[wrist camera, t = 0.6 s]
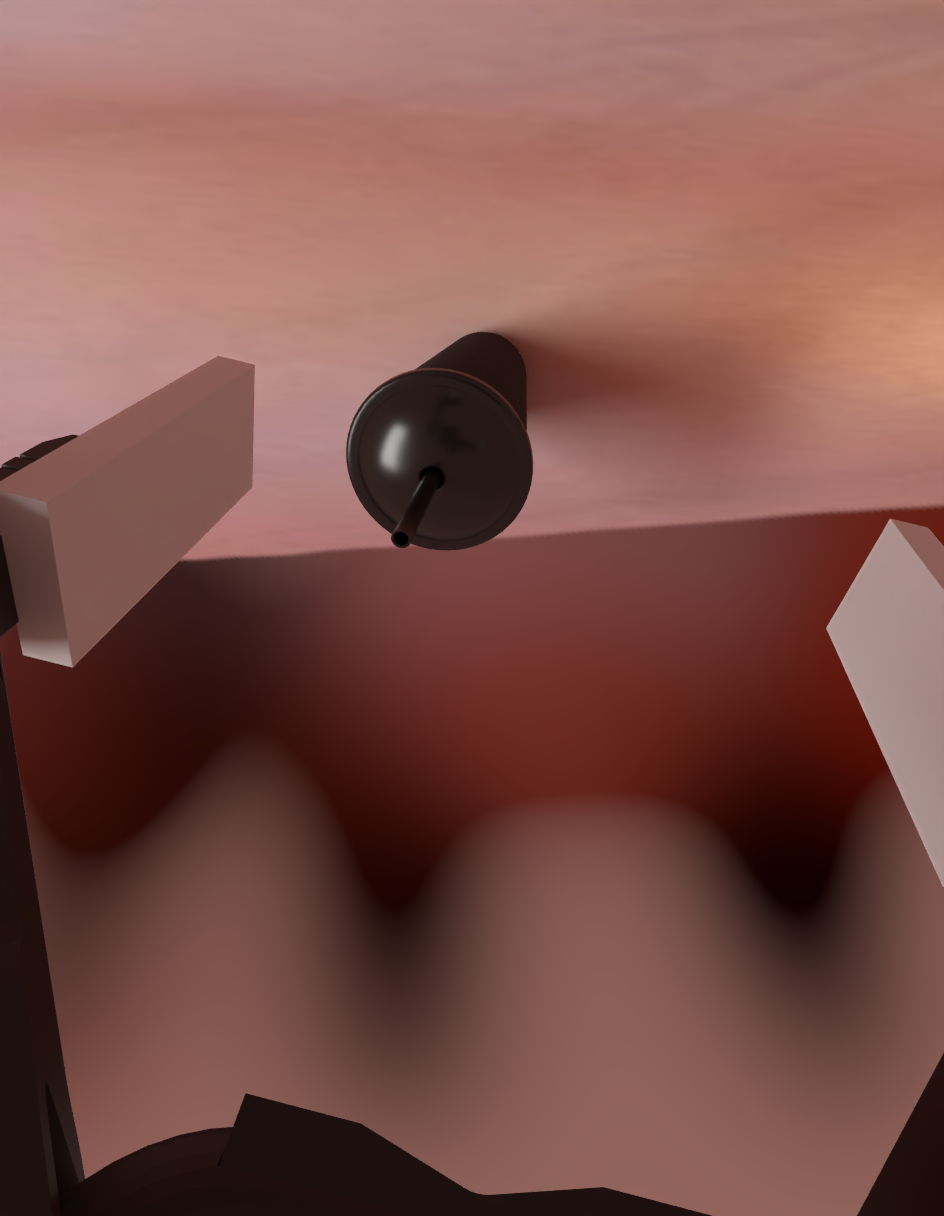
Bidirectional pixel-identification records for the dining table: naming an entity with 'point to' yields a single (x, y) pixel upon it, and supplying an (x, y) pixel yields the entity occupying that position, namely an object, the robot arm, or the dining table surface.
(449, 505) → the drinking cup
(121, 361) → the dining table surface
